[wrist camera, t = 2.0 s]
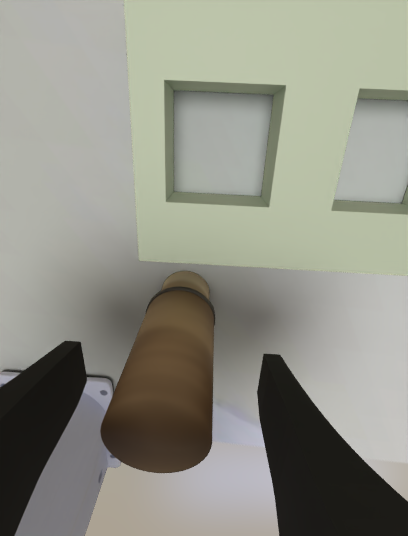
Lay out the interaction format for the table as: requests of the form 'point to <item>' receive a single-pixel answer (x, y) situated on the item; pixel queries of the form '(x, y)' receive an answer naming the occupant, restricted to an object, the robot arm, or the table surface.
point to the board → (280, 132)
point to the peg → (166, 383)
